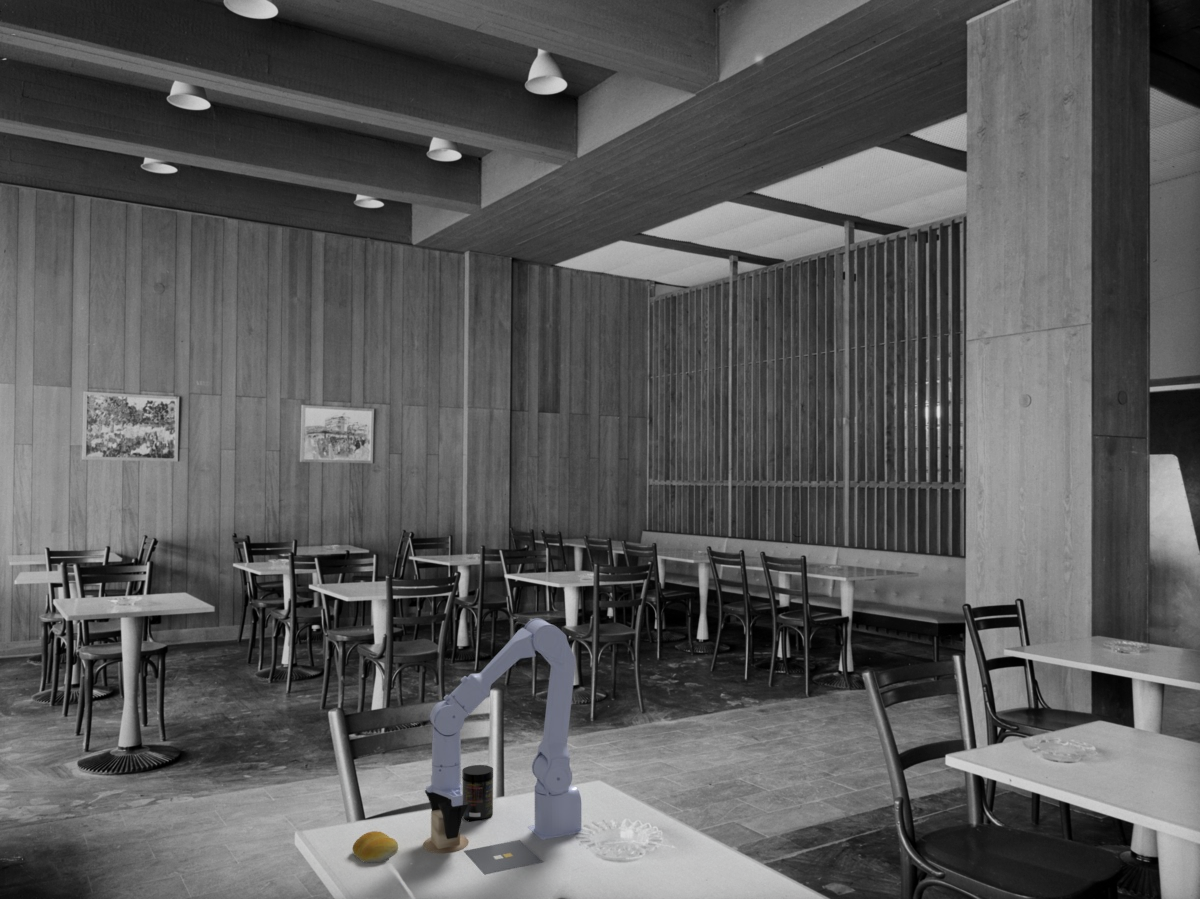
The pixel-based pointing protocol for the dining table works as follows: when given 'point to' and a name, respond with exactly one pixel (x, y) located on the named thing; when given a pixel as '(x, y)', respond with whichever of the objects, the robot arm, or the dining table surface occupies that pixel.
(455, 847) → the cork coaster
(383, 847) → the bread roll
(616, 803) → the dining table surface
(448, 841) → the maple block
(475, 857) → the tile
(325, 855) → the dining table surface
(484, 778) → the supplement container
